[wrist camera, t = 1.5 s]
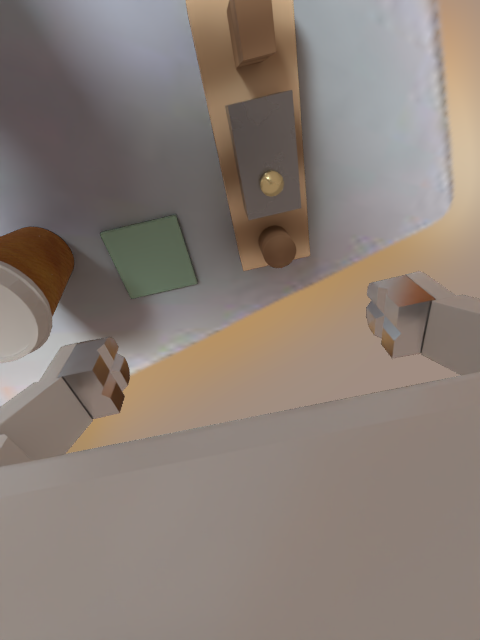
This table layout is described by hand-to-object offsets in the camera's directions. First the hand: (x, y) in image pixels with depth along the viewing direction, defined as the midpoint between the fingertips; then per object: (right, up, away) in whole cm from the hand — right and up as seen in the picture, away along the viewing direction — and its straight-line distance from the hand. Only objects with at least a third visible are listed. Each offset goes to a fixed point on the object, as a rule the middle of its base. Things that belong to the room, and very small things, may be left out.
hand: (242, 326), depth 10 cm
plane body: (+1, +16, +19) cm, 25 cm away
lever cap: (+2, +14, +16) cm, 21 cm away
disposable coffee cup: (-21, +7, +23) cm, 32 cm away
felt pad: (-10, +7, +24) cm, 27 cm away
